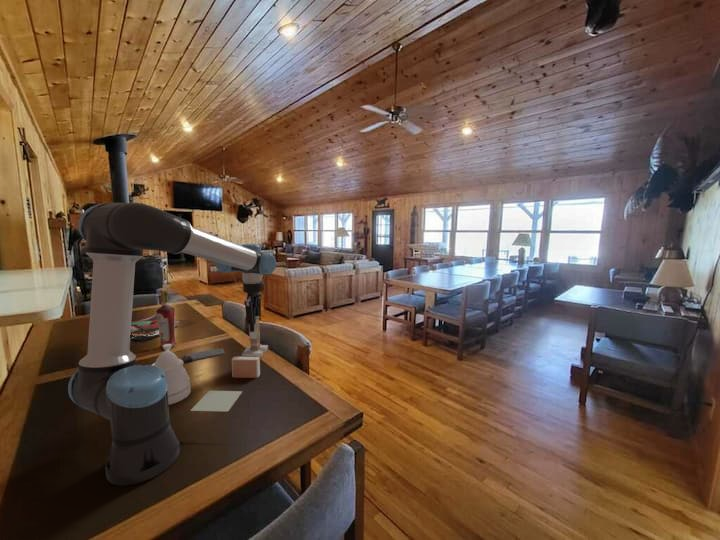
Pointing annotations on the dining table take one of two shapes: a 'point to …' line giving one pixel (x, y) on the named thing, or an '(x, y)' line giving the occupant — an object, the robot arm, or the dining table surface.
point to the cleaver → (201, 355)
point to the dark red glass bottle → (166, 321)
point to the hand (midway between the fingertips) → (254, 336)
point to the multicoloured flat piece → (145, 329)
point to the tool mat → (217, 401)
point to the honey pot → (174, 375)
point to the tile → (245, 367)
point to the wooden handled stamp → (255, 344)
